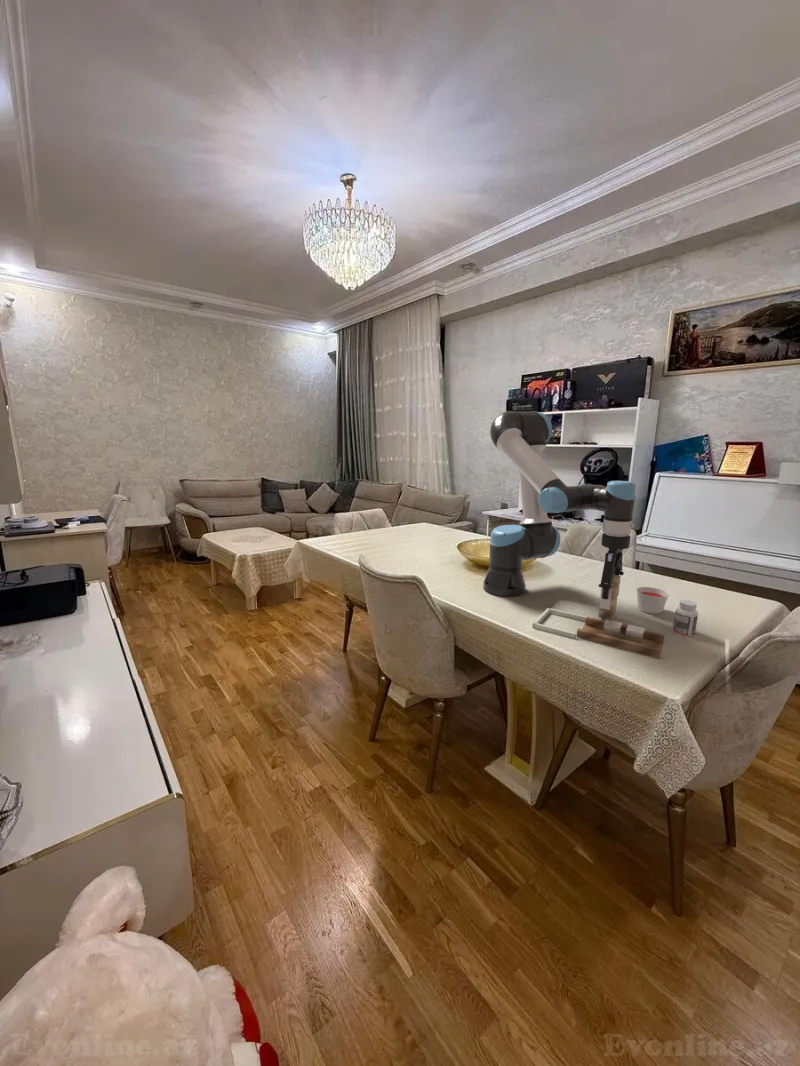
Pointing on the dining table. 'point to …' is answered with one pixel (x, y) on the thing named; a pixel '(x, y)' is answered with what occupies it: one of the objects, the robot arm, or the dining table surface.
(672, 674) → the dining table surface
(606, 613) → the tapered wooden board
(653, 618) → the dining table surface
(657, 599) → the white round cup
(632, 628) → the pinkish grey cube
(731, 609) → the dining table surface
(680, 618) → the pill bottle
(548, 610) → the tray
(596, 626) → the slot board
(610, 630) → the grey cube
